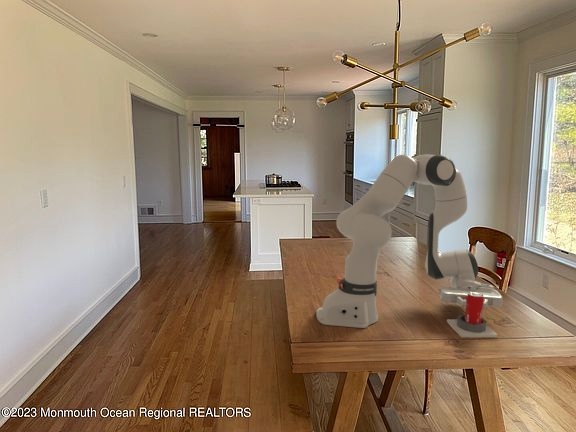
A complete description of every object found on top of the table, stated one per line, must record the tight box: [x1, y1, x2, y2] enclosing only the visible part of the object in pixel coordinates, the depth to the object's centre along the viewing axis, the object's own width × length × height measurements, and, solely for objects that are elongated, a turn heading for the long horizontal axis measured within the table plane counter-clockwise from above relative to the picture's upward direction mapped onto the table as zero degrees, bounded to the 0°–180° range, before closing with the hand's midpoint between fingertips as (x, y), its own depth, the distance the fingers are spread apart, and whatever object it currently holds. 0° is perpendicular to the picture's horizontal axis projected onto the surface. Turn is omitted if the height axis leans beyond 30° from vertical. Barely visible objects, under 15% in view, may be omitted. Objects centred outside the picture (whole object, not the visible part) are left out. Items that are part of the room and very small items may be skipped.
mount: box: [446, 314, 498, 338], centre depth 144 cm, size 12×12×4 cm
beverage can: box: [464, 292, 484, 324], centre depth 143 cm, size 5×5×12 cm
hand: (474, 305), depth 142 cm, fingers open, 5 cm apart
